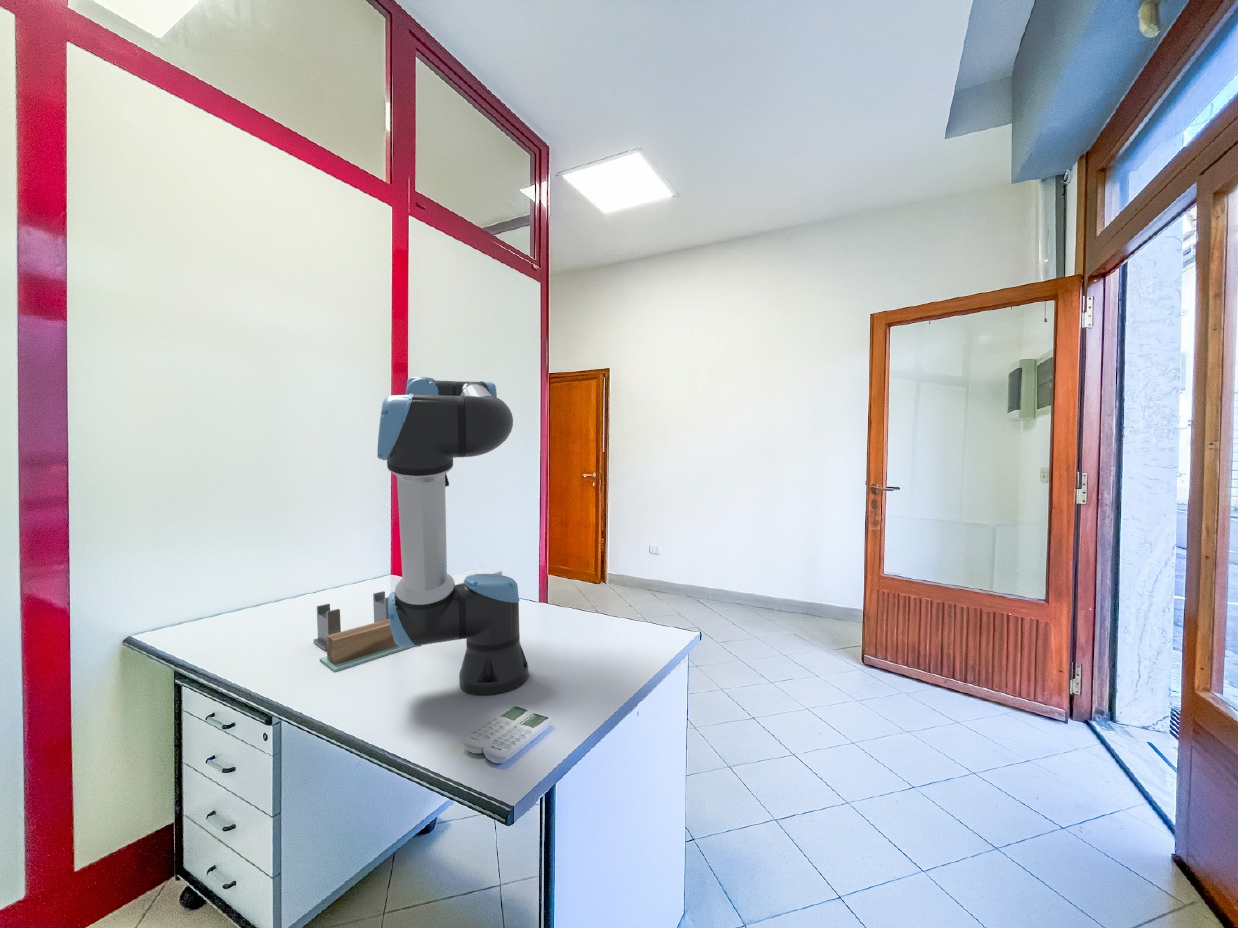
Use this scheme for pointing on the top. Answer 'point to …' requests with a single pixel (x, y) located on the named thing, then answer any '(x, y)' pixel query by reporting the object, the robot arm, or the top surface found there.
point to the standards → (331, 619)
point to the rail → (359, 642)
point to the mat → (361, 658)
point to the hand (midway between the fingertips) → (426, 512)
